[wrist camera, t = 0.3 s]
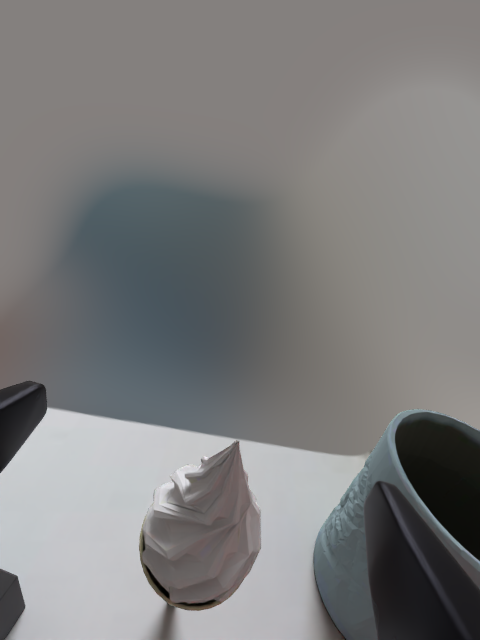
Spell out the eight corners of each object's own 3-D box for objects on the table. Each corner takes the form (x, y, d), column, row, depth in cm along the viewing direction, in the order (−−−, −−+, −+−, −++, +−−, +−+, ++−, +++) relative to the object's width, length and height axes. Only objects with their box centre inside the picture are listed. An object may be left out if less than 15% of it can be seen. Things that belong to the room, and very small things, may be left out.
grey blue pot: (295, 497, 25) (363, 394, 19) (406, 515, 26) (503, 424, 20) (323, 690, 16) (465, 613, 10) (487, 704, 17) (700, 643, 11)
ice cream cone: (110, 658, 15) (136, 501, 8) (142, 543, 20) (179, 369, 12) (208, 672, 16) (324, 536, 8) (218, 556, 20) (300, 398, 12)
